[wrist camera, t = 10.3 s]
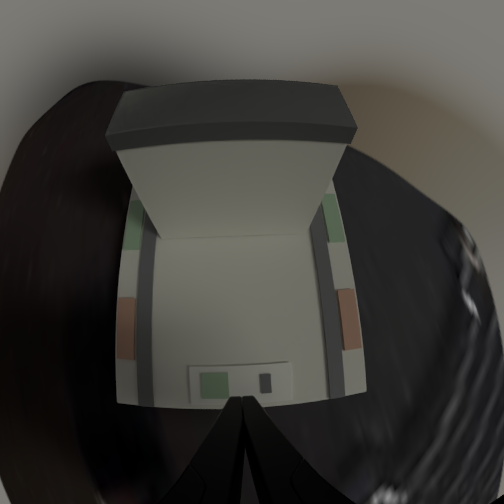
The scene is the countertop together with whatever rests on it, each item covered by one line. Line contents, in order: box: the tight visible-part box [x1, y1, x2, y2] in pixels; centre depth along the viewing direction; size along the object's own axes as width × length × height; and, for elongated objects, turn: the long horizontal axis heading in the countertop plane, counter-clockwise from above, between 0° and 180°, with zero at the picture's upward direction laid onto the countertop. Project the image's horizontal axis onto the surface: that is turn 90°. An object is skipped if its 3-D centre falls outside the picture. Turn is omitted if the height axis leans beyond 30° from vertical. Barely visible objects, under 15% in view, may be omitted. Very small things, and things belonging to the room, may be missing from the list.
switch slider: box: [105, 80, 357, 239], centre depth 15 cm, size 3×10×10 cm, turn 94°
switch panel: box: [115, 179, 366, 409], centre depth 18 cm, size 17×16×2 cm
